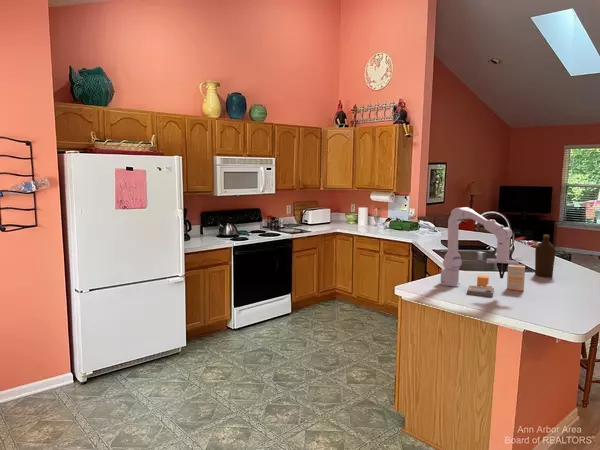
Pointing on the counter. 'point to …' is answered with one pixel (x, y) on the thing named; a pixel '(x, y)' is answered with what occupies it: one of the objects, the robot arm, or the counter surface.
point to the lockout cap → (482, 280)
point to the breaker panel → (480, 291)
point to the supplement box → (515, 277)
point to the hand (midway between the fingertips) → (501, 277)
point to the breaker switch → (489, 287)
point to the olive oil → (544, 258)
